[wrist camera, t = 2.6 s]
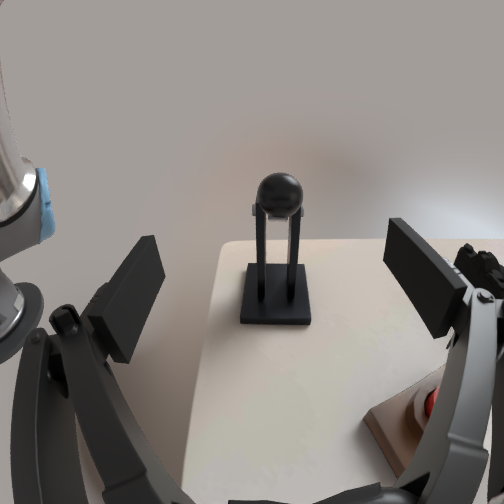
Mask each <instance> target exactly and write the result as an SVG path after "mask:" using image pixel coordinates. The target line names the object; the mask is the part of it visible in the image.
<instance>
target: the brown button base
mask: <svg viewBox="0 0 504 504" xmlns="http://www.w3.org/2000/svg"><path fill="white" fill-rule="evenodd" d="M445 366H446V364H444V365H443V366H442V367H440V368H439V369H437V370H436V371H434V372H433V373H431V374H430V375H428V376H427V377H425V378H424V379H422V380H421V381H419V382H418V383H416V384H414V385H413V386H411V387H409V388H408V389H406V390H404V391H403V392H401V393H399V394H397V395H396V396H394V397H392V398H390V399H388V400H387V401H385V402H383V403H381V404H379V405H377V406H375V407H373V408H371V409H370V410H369V411H368V412H367V414H366V415H365V416H364V417H363V418H364V420H365V421H366V423H367V425H368V427H369V428H370V430H371V432H372V434H373V435H374V437H375V439H376V441H377V443H378V444H379V446H380V448H381V450H382V451H383V453H384V455H385V457H386V458H387V460H388V462H389V464H390V466H391V467H392V469H393V471H394V473H395V475H396V476H397V478H398V479H399V477H400V476H401V474H402V473H403V472H404V471H405V470H406V469H407V467H408V466H409V464H410V462H411V460H412V458H413V456H414V454H415V452H416V449H417V447H418V445H419V443H420V440H421V438H422V436H423V433H424V431H425V428H426V426H427V423H428V421H429V418H428V417H427V415H426V410H425V406H426V402H427V399H428V398H429V397H430V395H431V394H432V393H433V392H434V391H435V390H436V389H437V388H438V387H439V386H440V385H441V381H442V378H443V374H444V370H445Z"/></svg>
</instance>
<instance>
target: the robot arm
mask: <svg viewBox="0 0 504 504" xmlns="http://www.w3.org/2000/svg"><path fill="white" fill-rule="evenodd" d="M3 1H4V0H0V5H1V3H2V2H3ZM54 232H55V221H54V217H53V212H52V207H51V201H50V195H49V189H48V183H47V177H46V171H45V169H44V168H36V169H35V168H34V166H33V164H32V163H31V161H29V160H28V159H26V158H24V157H21V156H20V153H19V150H18V147H17V143H16V140H15V137H14V133H13V129H12V126H11V122H10V117H9V113H8V108H7V103H6V98H5V93H4V87H3V80H2V73H1V64H0V262H1V261H3V260H5V259H7V258H9V257H10V256H13V255H15V254H17V253H19V252H21V251H23V250H25V249H27V248H29V247H32V246H34V245H36V244H40V243H41V242H42V241H43V240H45V239H47V238H49V237H51V236H52V235H53V234H54ZM383 261H384V262H385V264H386V265H387V267H388V268H389V269H390V271H391V272H392V274H393V275H394V277H395V278H396V280H397V281H398V283H399V284H400V285H401V287H402V288H403V290H404V292H405V293H406V295H407V296H408V298H409V299H410V301H411V302H412V304H413V305H414V307H415V309H416V310H417V312H418V313H419V315H420V317H421V318H422V320H423V322H424V323H425V325H426V327H427V328H428V330H429V332H430V333H431V335H432V337H433V339H436V338H440V337H443V336H446V335H447V333H448V331H449V329H450V327H451V326H452V327H453V329H454V330H455V332H454V334H453V336H452V338H451V339H450V341H449V343H448V345H447V347H446V349H448V348H449V346H450V349H449V353H448V358H447V362H446V366H445V370H444V374H443V378H442V381H441V385H440V388H439V391H438V394H437V398H436V401H435V404H434V407H433V410H432V412H431V415H430V418H429V421H428V423H427V426H426V428H425V431H424V433H423V436H422V438H421V440H420V443H419V445H418V447H417V449H416V452H415V454H414V456H413V458H412V460H411V462H410V464H409V466H408V467H407V469H406V470H405V471H404V472H403V473H402V474H401V476H400V477H399V479H398V480H397V481H396V483H395V485H394V486H393V487H381V485H380V482H378V483H375V484H371V485H368V486H364V487H360V488H355V489H351V490H347V491H344V492H341V493H339V494H337V495H334V496H332V497H329V498H327V499H324V500H322V501H319V502H316V503H313V504H472V503H473V501H474V498H475V496H476V493H477V491H478V488H479V486H480V483H481V480H482V477H483V474H484V471H485V468H486V464H487V461H488V456H489V454H488V450H486V449H484V448H483V442H484V438H485V434H486V430H487V425H488V420H489V415H490V410H491V404H492V446H491V460H490V469H489V479H488V492H487V502H488V504H504V299H503V300H500V299H495V297H494V296H493V295H492V294H491V293H490V292H489V291H487V290H485V289H482V288H476V289H475V288H474V287H473V286H472V284H471V283H470V282H469V281H468V280H467V279H466V278H465V277H464V275H463V274H461V272H460V271H459V270H458V269H456V267H455V266H454V265H453V264H452V263H451V262H450V261H449V260H447V259H445V258H444V257H441V256H440V255H439V254H438V253H437V252H436V251H435V250H434V249H433V248H432V247H431V246H430V245H429V244H428V243H427V242H426V241H425V240H424V239H423V238H422V237H421V236H420V235H419V234H417V232H415V231H414V230H413V229H412V228H411V227H410V226H409V225H408V224H407V223H406V222H405V221H404V220H402V219H401V218H390V219H389V225H388V233H387V239H386V245H385V252H384V257H383ZM164 279H165V273H164V269H163V266H162V262H161V259H160V255H159V252H158V248H157V245H156V241H155V237H154V235H150V236H142V237H141V238H140V240H139V241H138V242H137V244H136V245H135V246H134V247H133V249H132V250H131V252H130V253H129V255H128V256H127V257H126V258H125V260H124V261H123V262H122V264H121V265H120V267H119V268H118V269H117V271H116V272H115V274H114V275H113V277H112V278H111V280H110V281H109V282H108V283H105V284H104V285H102V286H101V287H100V288H99V289H98V290H97V291H96V293H95V294H94V297H92V299H91V300H90V303H88V305H87V306H86V308H85V310H84V311H83V312H82V314H81V315H80V317H79V315H78V313H77V311H76V309H75V307H74V306H73V305H70V304H65V305H63V306H60V307H59V308H57V309H56V310H54V311H53V312H52V314H51V315H50V317H49V322H50V323H51V325H52V327H53V329H54V330H55V332H56V333H57V334H55V335H50V336H49V335H48V334H47V332H46V331H45V330H44V328H36V329H34V330H32V331H31V332H29V334H28V335H27V337H26V339H25V341H24V345H23V350H22V354H21V359H20V363H19V369H18V374H17V380H16V386H15V393H14V400H13V409H12V421H11V422H12V423H11V445H10V446H11V447H10V449H11V452H10V454H11V477H12V488H13V497H14V504H88V499H87V495H86V491H85V486H84V482H83V476H82V472H81V465H80V459H79V452H78V444H77V435H76V424H75V412H76V415H77V419H78V422H79V424H80V427H81V430H82V433H83V436H84V439H85V441H86V444H87V447H88V449H89V451H90V454H91V456H92V459H93V461H94V463H95V466H96V468H97V470H98V472H99V474H100V476H101V478H102V481H103V482H104V485H105V490H104V491H103V492H102V497H103V500H104V502H105V504H195V503H194V501H193V500H192V499H191V498H190V497H189V496H188V495H187V494H186V493H184V492H183V491H182V490H181V488H180V487H179V486H178V485H177V484H176V482H175V481H174V479H173V478H172V477H171V475H170V474H169V473H168V471H167V470H166V468H165V467H164V465H163V464H162V462H161V461H160V460H159V458H158V456H157V455H156V453H155V452H154V450H153V449H152V447H151V445H150V444H149V442H148V440H147V439H146V437H145V435H144V434H143V432H142V430H141V428H140V427H139V425H138V423H137V421H136V420H135V418H134V416H133V414H132V412H131V410H130V408H129V406H128V404H127V402H126V400H125V398H124V397H123V395H122V392H121V390H120V388H119V386H118V384H117V382H116V379H115V377H114V375H113V373H112V370H111V368H110V366H109V364H108V362H107V361H106V359H107V357H108V354H110V356H111V358H112V359H113V361H114V362H117V363H126V364H129V362H130V360H131V357H132V355H133V352H134V349H135V347H136V344H137V342H138V339H139V337H140V334H141V332H142V329H143V327H144V325H145V322H146V320H147V317H148V315H149V313H150V310H151V308H152V306H153V303H154V301H155V299H156V296H157V294H158V292H159V290H160V288H161V285H162V283H163V281H164ZM25 310H26V299H25V297H24V296H23V294H22V292H21V291H20V290H19V288H18V287H17V286H15V285H14V284H13V283H12V282H11V280H10V279H9V278H8V277H7V276H6V275H5V274H4V273H3V272H2V270H1V269H0V343H1V342H2V341H4V340H5V339H6V338H7V337H8V336H10V335H11V334H12V332H13V331H14V330H15V329H16V328H17V326H18V325H19V323H20V322H21V320H22V318H23V316H24V314H25ZM228 504H288V503H280V502H274V501H268V500H258V501H243V500H228Z"/></svg>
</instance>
